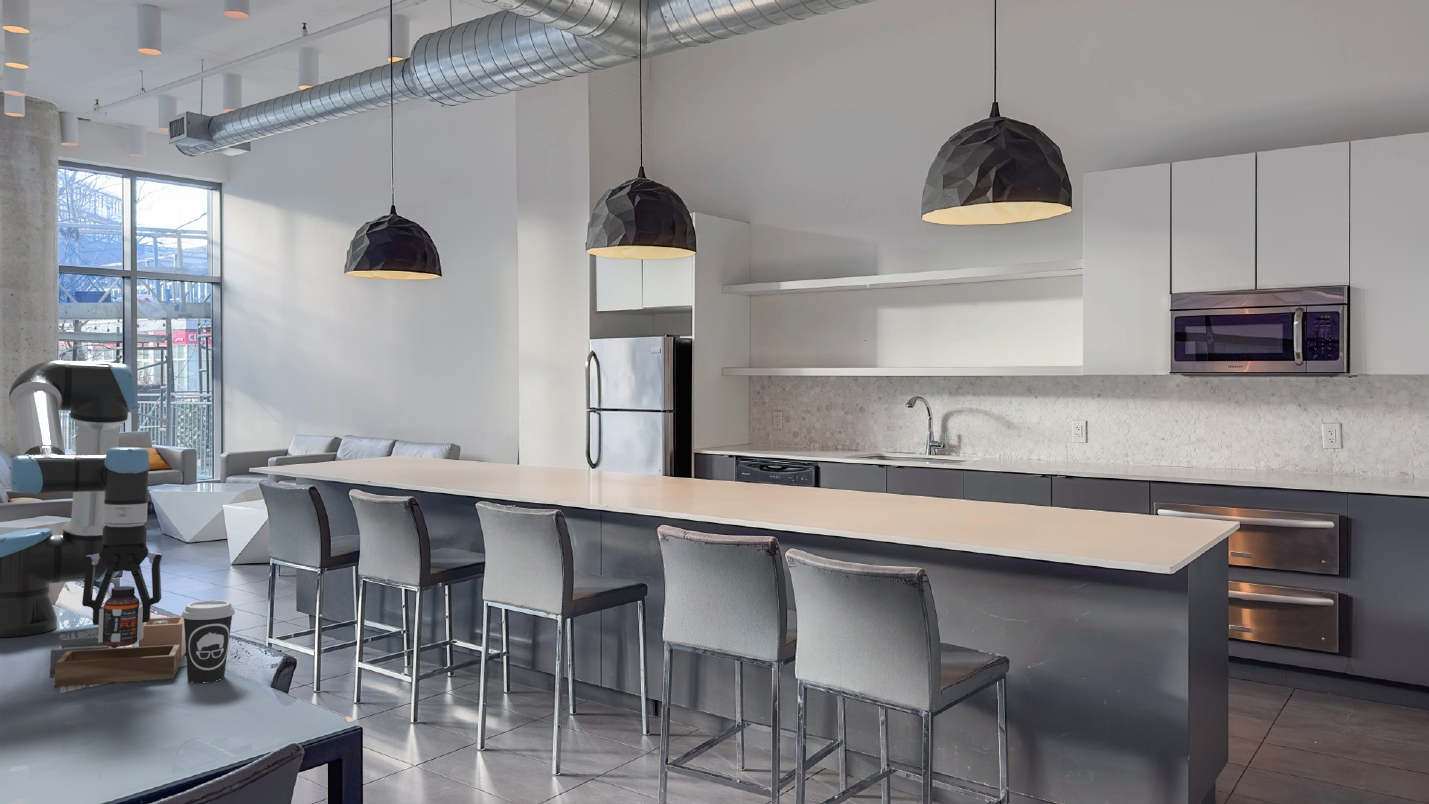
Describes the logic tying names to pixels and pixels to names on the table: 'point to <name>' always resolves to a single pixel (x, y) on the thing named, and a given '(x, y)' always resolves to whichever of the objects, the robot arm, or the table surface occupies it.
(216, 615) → the coffee cup
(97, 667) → the trough
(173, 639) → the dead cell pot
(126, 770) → the table surface
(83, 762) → the table surface
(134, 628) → the supplement bottle
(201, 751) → the table surface
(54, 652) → the cradle base
